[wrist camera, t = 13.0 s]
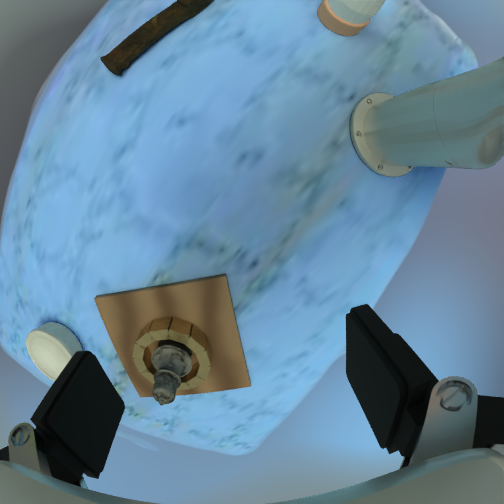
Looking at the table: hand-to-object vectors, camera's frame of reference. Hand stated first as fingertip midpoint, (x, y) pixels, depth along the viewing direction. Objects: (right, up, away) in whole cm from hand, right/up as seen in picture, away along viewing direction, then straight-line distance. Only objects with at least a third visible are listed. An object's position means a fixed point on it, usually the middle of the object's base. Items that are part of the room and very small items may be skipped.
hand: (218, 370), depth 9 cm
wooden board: (-11, -10, +30) cm, 33 cm away
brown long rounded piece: (-11, +35, +18) cm, 41 cm away
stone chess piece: (-10, -10, +29) cm, 32 cm away
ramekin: (-33, -12, +29) cm, 45 cm away
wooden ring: (-11, -10, +29) cm, 32 cm away
